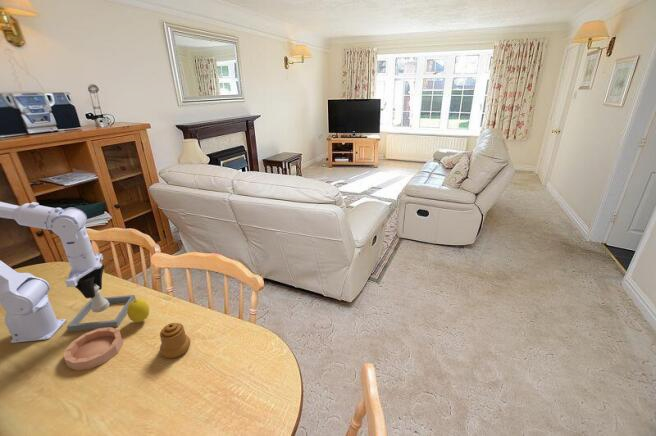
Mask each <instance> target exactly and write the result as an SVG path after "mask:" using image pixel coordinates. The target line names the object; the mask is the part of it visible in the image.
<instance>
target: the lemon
mask: <svg viewBox="0 0 656 436" xmlns="http://www.w3.org/2000/svg"><path fill="white" fill-rule="evenodd" d="M126 315H127V316H128V318H129V319H130V320H131V321H132V322H135V323H142V322H143V321H145V320H146V319H147V318H148V317H149V315H150V307H149V304H148V303H147V301H146V300H145V299H140V298H138V299H137V298H136V299H135V300H134V301H132V302H131V303H130V304H129V305H128V308H127V314H126Z"/></svg>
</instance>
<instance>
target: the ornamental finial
mask: <svg viewBox="0 0 656 436" xmlns="http://www.w3.org/2000/svg"><path fill="white" fill-rule="evenodd" d="M184 327H185V326H184V325H183V324H182V323H179V322H170V323H167V324H166V325H165V326H164V327H163V328H161V330H160V332H159V339H160V341H161V344H160V347H159V352H160V355H161V356H162V357H164V358H166V359H174V358H178V357H180V356H183V354H185V353H186V352H187V351H188V350H189V348H190V345H191V338H190V337H189V336H188V335H187V333H186V331H185V328H184Z"/></svg>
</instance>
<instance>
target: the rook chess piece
mask: <svg viewBox="0 0 656 436" xmlns="http://www.w3.org/2000/svg"><path fill="white" fill-rule="evenodd" d="M94 291H95V297H94V298H90V300H92V305H91V311H92V312H93V313H101V312H104V311H106V310H107V309H108V308H109V307H110V304H111V303H109V302H108V300H107V299H105V298H104V297H103V295H102V293H101V290H99V286H97V284H94Z"/></svg>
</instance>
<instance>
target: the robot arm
mask: <svg viewBox="0 0 656 436" xmlns="http://www.w3.org/2000/svg"><path fill="white" fill-rule="evenodd" d="M0 218H3V219H11V220H14V221H16V223H17V224H18V225H20V226H25V227H28V228H29V227H31V228H35V229H36V228H37V229H42V230H49V231H52V233H54V234H55V235H57V236H58V237H59V239H60V241H61V244H62V246H63V248H64V252H65V255H66V258H67V260H68V264H69V266H70V271H69V272H68V276H67V278H66V280H65V281H64V282H65V285H66V287H67V288H72V287H73V288H75V289H77V290H78V291H79V292H80V293H81V294H82V295H83V296H84V298H85V299H91V298H94V297H95V291H94V284H97V286H99V290H100V291H101V290H102V289H103V273H104V269H105V265H104V264H102V263H101V262H102V261H103V259H104V256H103V254H102V253H95V252H94V249H93V246H92V243H91V239H90V235H89V234H88V231H87V228H86V226H85V225H86V223H87V221H88V217H87V214H86V213H85V212H84V211H83V210H81V209H79V208H76V207H67V208H65V209H63V208H62V207H50V206H45V205H40V203H39V202H37V201H36V202H35V201H32V202H30V203H29V202H27V203H26V202H25V203H24V204H21V205H16V204H11V203H7V202H5V201H4V202H3V201H0ZM50 290H51V286H50V284H49V282H48V281H47V280H45V278H44V279H43V277H42V278H40V277H37V276H35V275H33V274H32V273H31V272H18V271H16V270H14V269H13V268H12V267H10V266H9V265H7V264H6V263H5V262H3V261H2V260H0V305H1V307H2V309H3V310H4V311H5V312H6V313H5V316H4V324H5V327H6V328H7V330H8V332H9V334H10V336H11V337H12V340H10V343H12V344H15V343H23V342H33V341H43V340H50V339H51V338H52V337H53V336H54V335H55V333H56V332H57V331H58V330H59V329H60V328H61V327H62V326H63V324H64V323H66V321H67V319H66V318H61V319H57V316H56V314H55V311H54V309H53V307H52V304H51V301H50V299H49V295H48V293H49V292H50Z"/></svg>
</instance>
